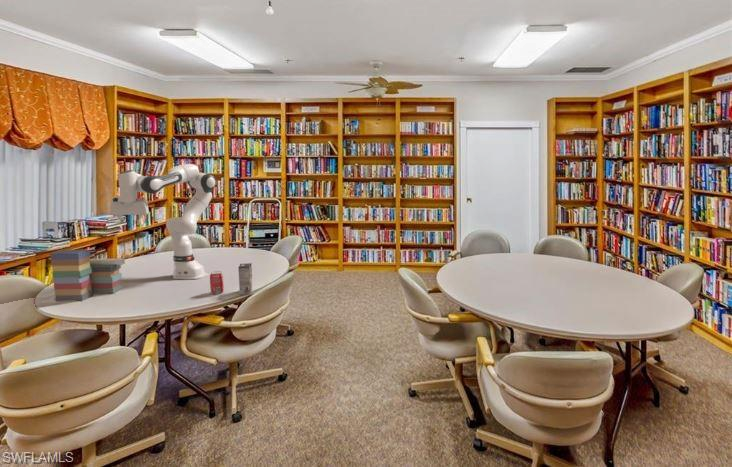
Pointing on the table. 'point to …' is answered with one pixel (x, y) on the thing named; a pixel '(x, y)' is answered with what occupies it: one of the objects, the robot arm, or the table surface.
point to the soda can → (216, 282)
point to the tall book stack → (71, 275)
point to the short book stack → (105, 279)
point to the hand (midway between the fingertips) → (130, 222)
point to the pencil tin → (107, 261)
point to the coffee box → (245, 278)
